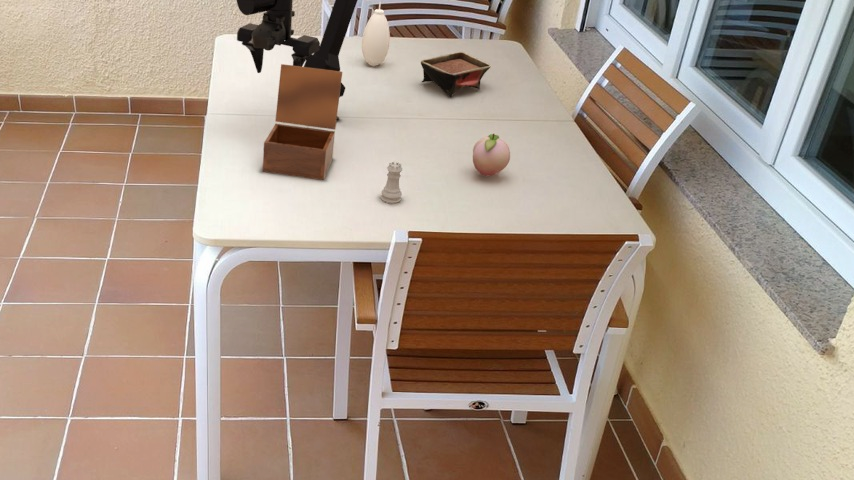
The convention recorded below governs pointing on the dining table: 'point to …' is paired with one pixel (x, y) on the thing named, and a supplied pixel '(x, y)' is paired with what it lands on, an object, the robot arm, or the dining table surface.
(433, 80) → the square footed planter
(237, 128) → the dining table surface
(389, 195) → the rook chess piece
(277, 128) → the bin
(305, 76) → the bin lid
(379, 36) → the cream tall oval piece
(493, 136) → the decorative fruit
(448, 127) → the dining table surface
